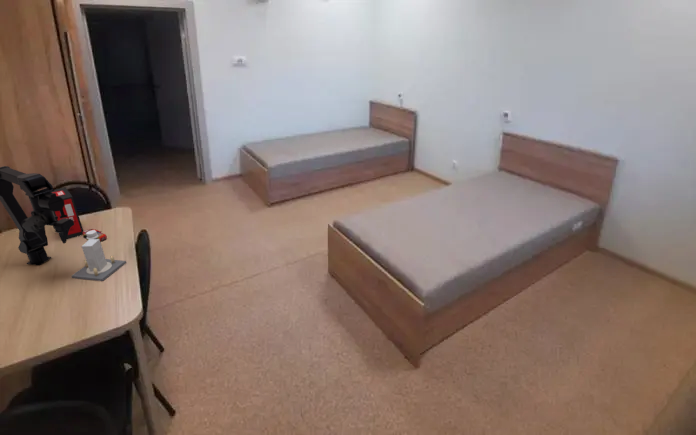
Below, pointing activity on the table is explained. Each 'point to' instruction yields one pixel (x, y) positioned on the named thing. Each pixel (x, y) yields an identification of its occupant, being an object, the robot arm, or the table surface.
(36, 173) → the robot arm
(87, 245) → the skincare box
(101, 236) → the race car
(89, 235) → the supplement bottle
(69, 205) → the cleaning product box
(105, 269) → the pin cradle
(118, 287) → the table surface
